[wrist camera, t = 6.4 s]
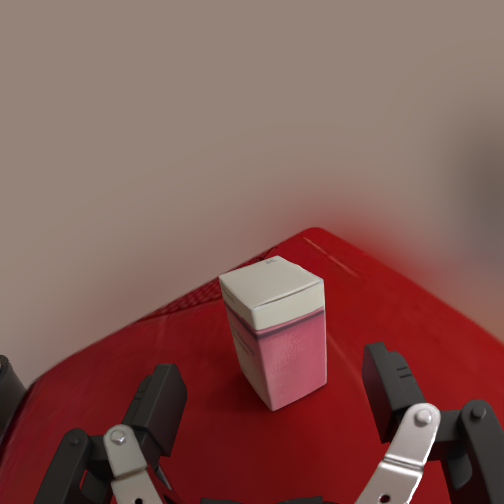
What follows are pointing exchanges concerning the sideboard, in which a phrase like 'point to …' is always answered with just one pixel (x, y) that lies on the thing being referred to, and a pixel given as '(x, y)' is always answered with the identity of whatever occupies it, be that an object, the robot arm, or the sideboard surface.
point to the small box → (277, 328)
